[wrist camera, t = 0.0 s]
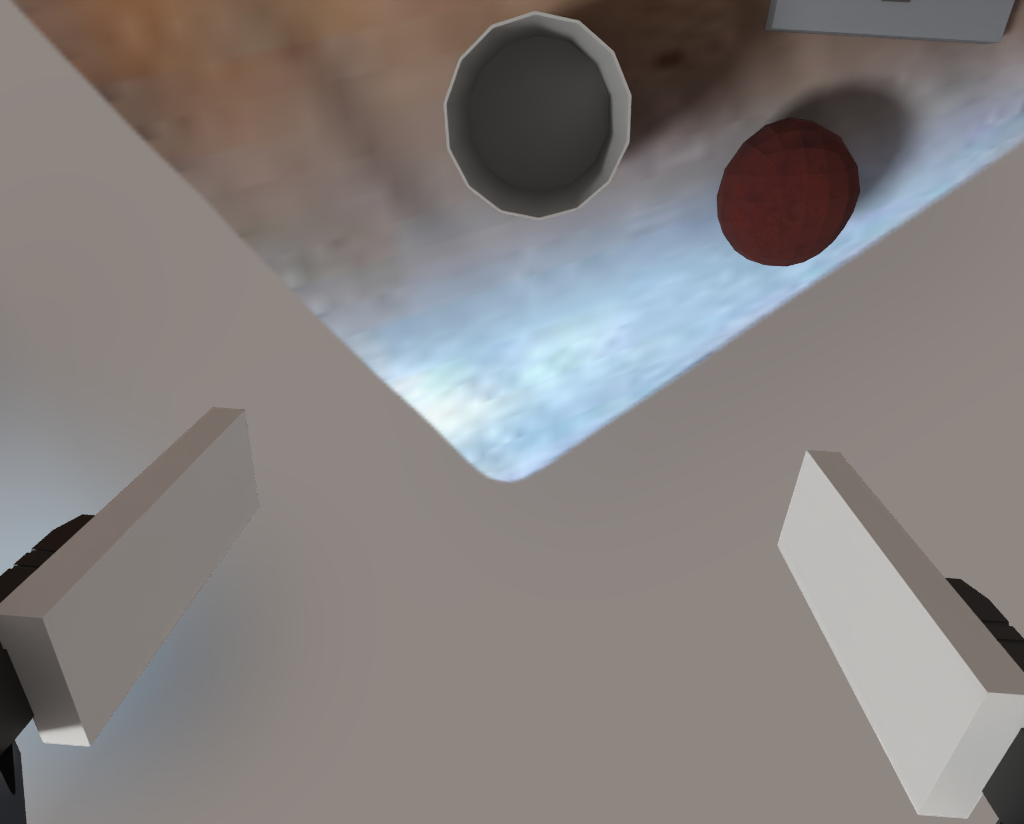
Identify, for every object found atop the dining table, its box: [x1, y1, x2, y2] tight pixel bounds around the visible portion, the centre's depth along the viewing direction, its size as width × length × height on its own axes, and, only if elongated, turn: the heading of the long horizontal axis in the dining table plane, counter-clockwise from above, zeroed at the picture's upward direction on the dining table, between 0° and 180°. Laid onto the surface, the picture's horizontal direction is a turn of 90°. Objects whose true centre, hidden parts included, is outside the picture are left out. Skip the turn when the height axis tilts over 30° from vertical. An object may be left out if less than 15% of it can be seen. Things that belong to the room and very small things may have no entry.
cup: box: [444, 11, 632, 221], centre depth 32 cm, size 8×8×10 cm
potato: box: [717, 118, 860, 266], centre depth 35 cm, size 7×8×7 cm
